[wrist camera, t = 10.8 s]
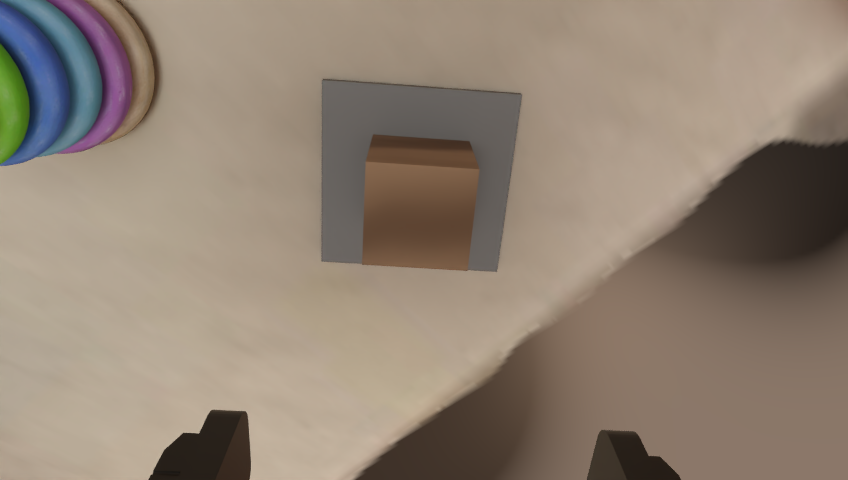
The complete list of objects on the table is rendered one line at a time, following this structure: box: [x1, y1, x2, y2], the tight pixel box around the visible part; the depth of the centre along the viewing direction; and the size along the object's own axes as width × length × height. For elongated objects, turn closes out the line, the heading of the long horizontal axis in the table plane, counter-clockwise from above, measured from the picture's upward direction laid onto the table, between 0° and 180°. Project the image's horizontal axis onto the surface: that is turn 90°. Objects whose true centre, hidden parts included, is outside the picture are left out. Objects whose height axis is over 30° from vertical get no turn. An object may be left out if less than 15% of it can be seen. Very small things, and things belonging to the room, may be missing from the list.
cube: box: [362, 134, 480, 271], centre depth 28 cm, size 5×5×5 cm
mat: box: [322, 79, 522, 272], centre depth 31 cm, size 10×10×1 cm
